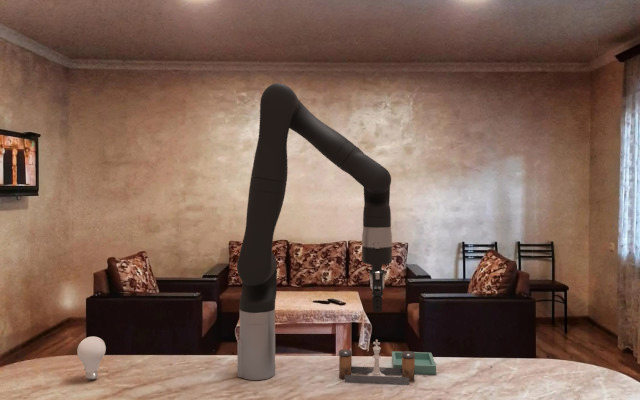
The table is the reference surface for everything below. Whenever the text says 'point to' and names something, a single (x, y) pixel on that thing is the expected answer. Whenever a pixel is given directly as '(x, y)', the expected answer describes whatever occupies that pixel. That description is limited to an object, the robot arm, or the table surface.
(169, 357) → the table surface
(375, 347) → the chess piece
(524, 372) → the table surface
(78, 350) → the light bulb
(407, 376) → the rail
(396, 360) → the tray
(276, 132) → the robot arm
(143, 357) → the table surface
